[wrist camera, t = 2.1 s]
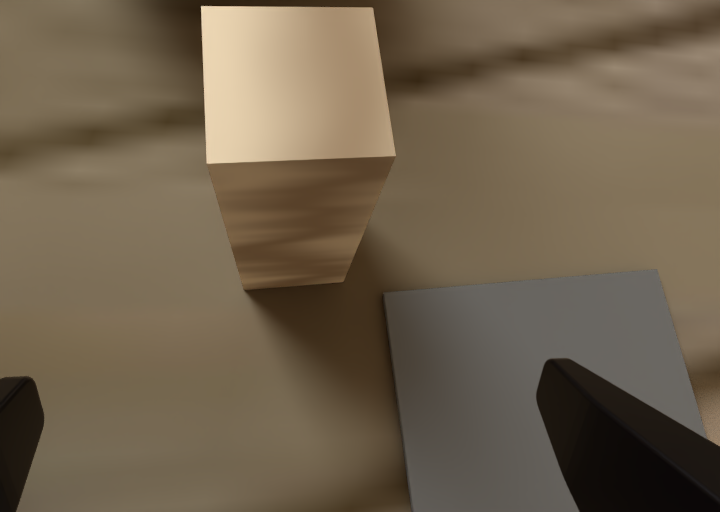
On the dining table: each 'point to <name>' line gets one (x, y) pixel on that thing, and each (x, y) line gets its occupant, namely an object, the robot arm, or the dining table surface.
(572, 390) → the robot arm
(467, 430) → the rubber mat
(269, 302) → the dining table surface
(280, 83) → the birch block
